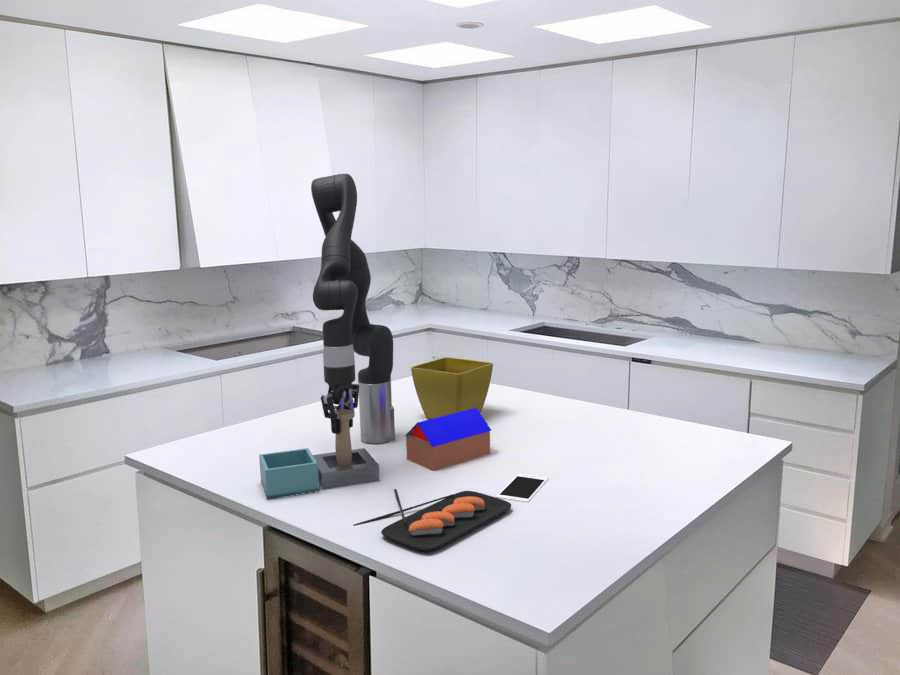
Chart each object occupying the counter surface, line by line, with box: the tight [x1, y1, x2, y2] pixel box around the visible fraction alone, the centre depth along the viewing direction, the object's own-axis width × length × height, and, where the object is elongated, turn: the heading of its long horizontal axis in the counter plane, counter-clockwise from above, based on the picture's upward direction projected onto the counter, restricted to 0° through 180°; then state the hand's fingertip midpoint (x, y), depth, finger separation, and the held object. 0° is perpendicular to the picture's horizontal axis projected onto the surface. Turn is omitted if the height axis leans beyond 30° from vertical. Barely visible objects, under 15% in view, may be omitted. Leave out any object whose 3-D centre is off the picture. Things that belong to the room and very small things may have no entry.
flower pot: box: [410, 356, 494, 420], centre depth 236 cm, size 19×19×17 cm
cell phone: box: [495, 473, 550, 503], centre depth 178 cm, size 8×16×1 cm, turn 156°
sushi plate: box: [352, 488, 512, 552], centre depth 164 cm, size 29×30×4 cm
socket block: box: [312, 447, 380, 490], centre depth 188 cm, size 14×14×4 cm
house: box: [404, 408, 492, 471], centre depth 199 cm, size 12×20×12 cm, turn 129°
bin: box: [258, 447, 320, 500], centre depth 181 cm, size 12×12×7 cm
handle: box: [328, 409, 356, 467], centre depth 187 cm, size 5×6×15 cm
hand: (342, 429), depth 186 cm, fingers closed on handle, 5 cm apart
